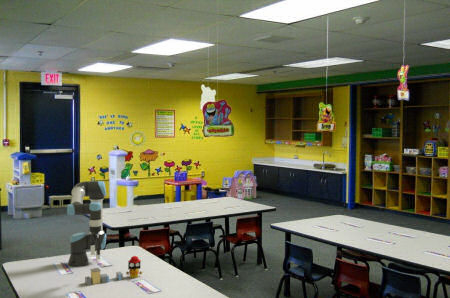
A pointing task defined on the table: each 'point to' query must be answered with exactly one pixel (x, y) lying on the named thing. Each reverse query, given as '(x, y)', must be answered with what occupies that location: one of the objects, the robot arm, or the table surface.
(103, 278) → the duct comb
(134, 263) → the toy
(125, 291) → the table surface
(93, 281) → the tan yellow block
